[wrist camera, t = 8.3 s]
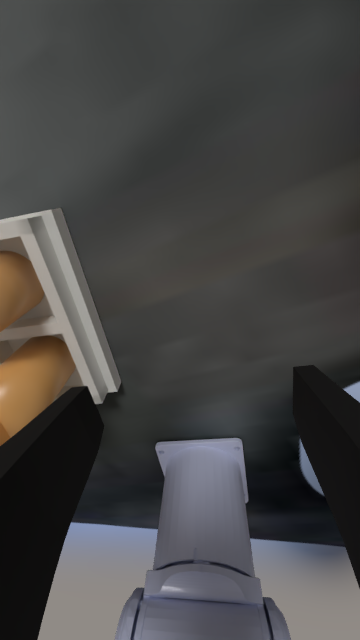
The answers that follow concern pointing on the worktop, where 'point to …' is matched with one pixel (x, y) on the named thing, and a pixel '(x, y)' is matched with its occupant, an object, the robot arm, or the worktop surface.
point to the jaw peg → (32, 381)
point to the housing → (51, 299)
